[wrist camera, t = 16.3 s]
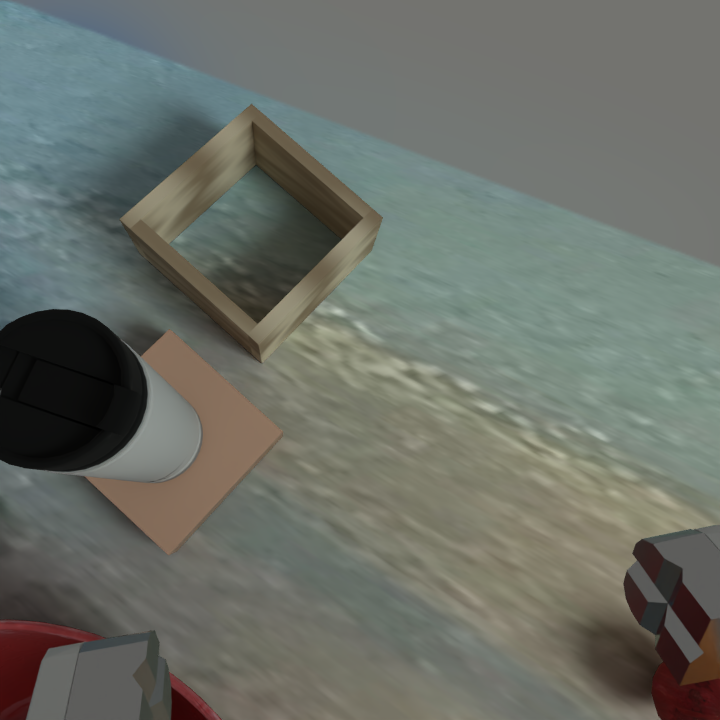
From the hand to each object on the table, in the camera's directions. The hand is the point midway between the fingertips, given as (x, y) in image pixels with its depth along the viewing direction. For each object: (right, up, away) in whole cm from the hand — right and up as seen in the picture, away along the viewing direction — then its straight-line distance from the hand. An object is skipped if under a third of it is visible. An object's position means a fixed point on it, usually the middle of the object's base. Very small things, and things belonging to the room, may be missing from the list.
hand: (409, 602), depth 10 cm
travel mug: (-15, -1, +32) cm, 35 cm away
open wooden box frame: (-9, +13, +38) cm, 41 cm away
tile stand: (-14, -2, +34) cm, 37 cm away
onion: (+22, -20, +35) cm, 46 cm away
